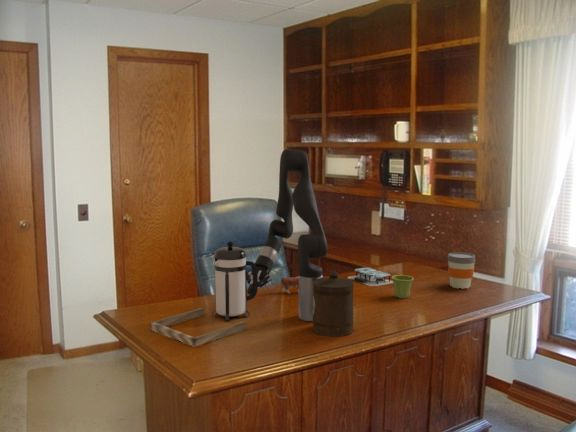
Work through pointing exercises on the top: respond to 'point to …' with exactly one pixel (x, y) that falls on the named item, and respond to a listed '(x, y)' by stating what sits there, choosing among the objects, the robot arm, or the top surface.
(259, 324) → the top surface
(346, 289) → the wooden container
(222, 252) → the coffee press
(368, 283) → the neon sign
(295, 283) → the bull figurine
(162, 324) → the birch stand
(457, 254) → the reusable coffee cup
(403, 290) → the plant pot
